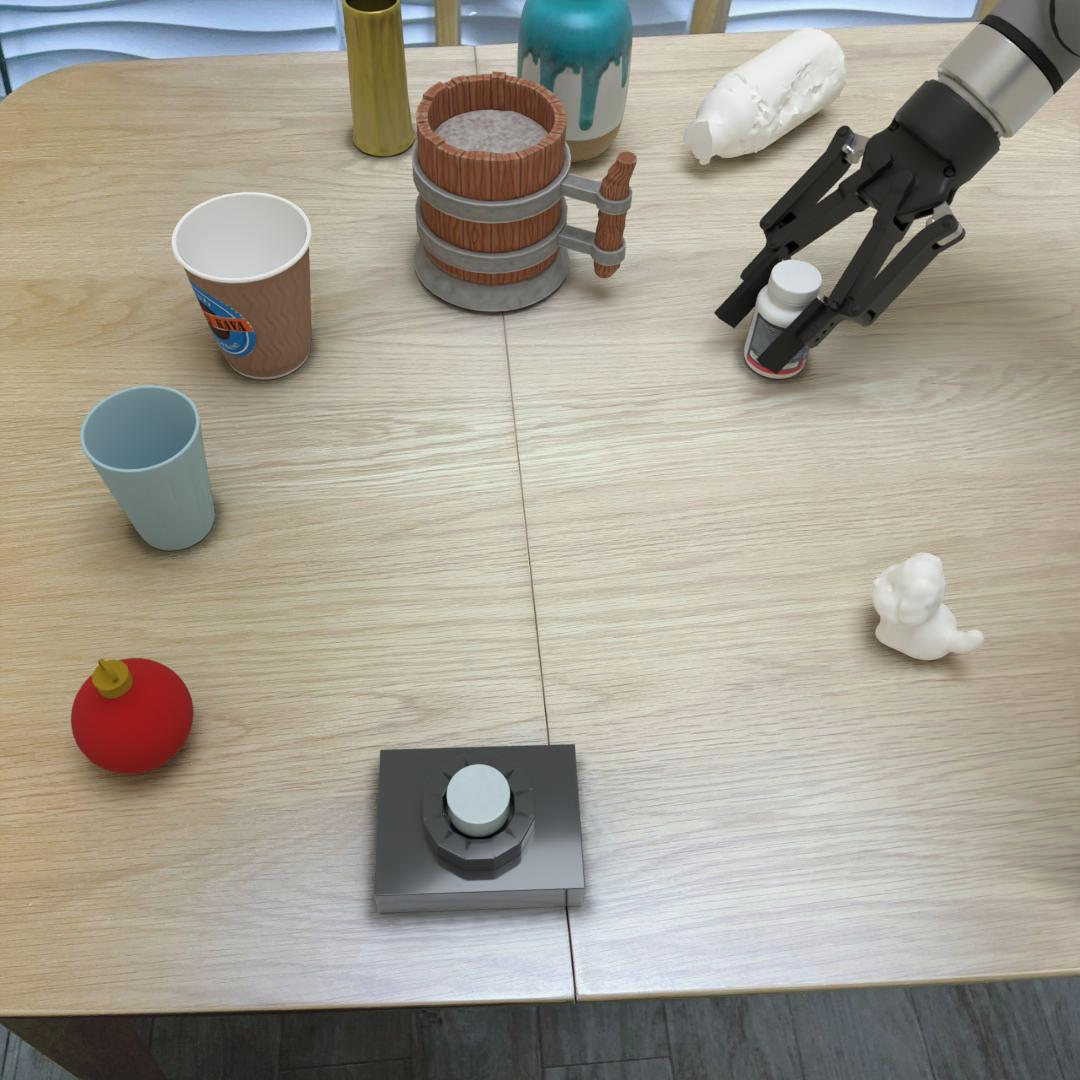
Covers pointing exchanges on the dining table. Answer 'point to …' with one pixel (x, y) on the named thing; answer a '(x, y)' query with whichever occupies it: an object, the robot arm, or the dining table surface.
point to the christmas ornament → (131, 715)
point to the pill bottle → (781, 313)
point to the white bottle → (768, 96)
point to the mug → (505, 194)
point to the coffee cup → (251, 278)
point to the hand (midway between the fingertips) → (745, 343)
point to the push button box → (478, 862)
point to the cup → (153, 463)
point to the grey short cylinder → (478, 800)
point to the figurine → (919, 611)
